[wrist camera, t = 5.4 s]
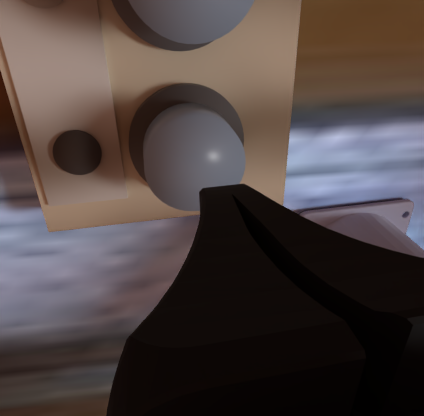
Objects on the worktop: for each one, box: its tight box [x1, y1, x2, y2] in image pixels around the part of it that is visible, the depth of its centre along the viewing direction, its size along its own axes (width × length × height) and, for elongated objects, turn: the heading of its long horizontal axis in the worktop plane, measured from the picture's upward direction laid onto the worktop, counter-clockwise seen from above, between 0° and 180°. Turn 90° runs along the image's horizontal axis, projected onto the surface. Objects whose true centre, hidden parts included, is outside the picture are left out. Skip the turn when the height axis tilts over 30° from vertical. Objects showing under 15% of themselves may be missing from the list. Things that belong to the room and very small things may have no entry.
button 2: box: [143, 103, 246, 211], centre depth 15 cm, size 4×4×2 cm
